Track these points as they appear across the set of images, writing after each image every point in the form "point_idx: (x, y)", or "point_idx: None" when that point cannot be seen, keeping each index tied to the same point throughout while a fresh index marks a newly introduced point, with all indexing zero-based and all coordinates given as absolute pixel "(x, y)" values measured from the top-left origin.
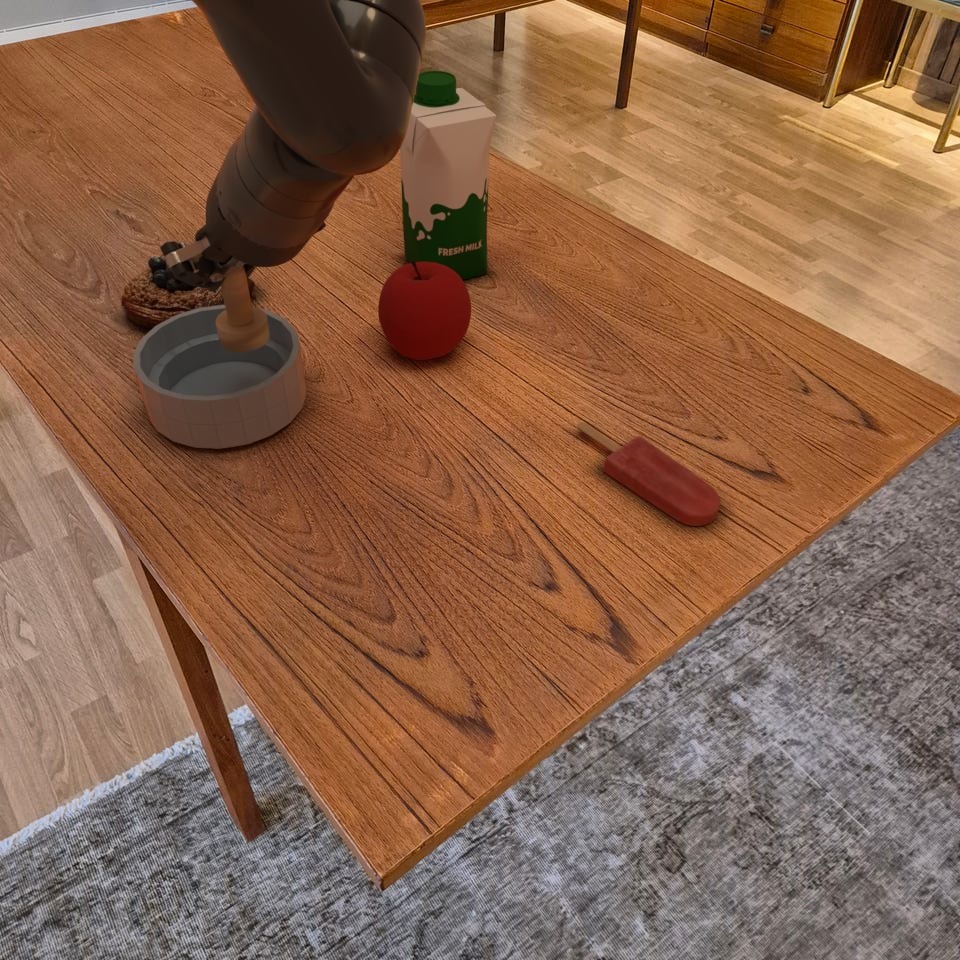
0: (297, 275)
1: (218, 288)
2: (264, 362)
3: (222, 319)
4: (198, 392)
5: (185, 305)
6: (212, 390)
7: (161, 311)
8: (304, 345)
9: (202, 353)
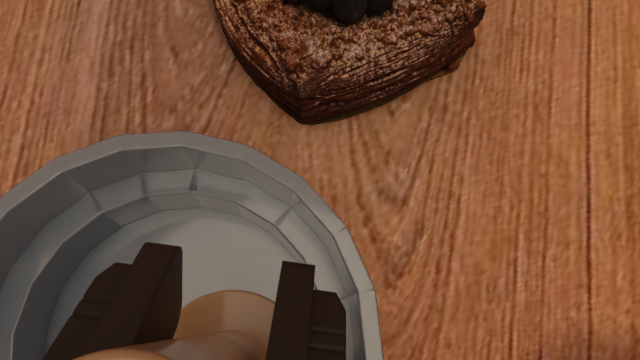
0: (567, 65)
1: (173, 334)
2: None
3: (187, 330)
4: None
5: (278, 56)
6: None
7: (241, 24)
8: (432, 284)
9: (217, 204)
